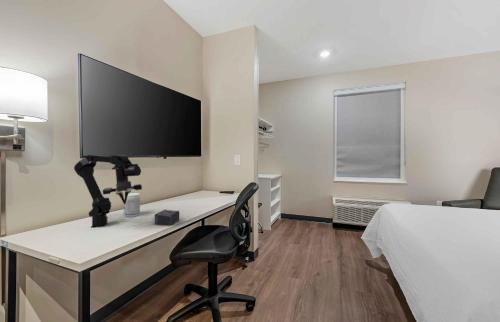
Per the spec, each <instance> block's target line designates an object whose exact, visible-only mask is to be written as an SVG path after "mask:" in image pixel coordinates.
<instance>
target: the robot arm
mask: <svg viewBox="0 0 500 322" xmlns="http://www.w3.org/2000/svg"><path fill="white" fill-rule="evenodd" d="M98 162H100V163H109V164H111V165H114V166H113V167H112V168H111V170H114V171H115V181H116V184H115V187H116V188H113V187H107V188H106V187H105V188H104V189H102V191H101V189H100V187H99V185H98V182H97V181H96V178H95V176H94V173H95V167H97V163H98ZM73 169H74V172H75V173H76V175H77V176H79V177H80V178H82V179H83V182H84V184H85V186H86V188H87V190H88V192H89V194H90V197H91V199H92V204H91V206H92V208H91V210H90V211H88V217H90V218H91V226H90V228H98V227H101V228H102V227H105V226H107V224H109V223H108V222H109V221H108V219H109V217H108V216H107V214H110V211H111V210H112V209H111V208H112V202H111V200H110V198H109V197H106V196H104V195H110V194H111V193H115V195H118V196H119V198H120V199H121V201H122V202H123V205H124V204H126V200H127V196H128V194H130V193H131V192H132V190H135V191H140V190H143V186H142V184H141V183H138V184H133V186H132V181H130V180H129V177H137V176H138V177H139V176H140V175H141V173H142V169H141V167H140V166H139V163H132V162H131V160H130V159H129V157H128V155H126V154H113V155H99V154H88V155H86V157H84V158H83V159H81V160H79V161H78V162H77V163H76V164H75V165H74V168H73ZM124 195H125V200H124Z"/></svg>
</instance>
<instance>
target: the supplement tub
mask: <svg viewBox="0 0 500 322" xmlns="http://www.w3.org/2000/svg"><path fill="white" fill-rule="evenodd" d="M123 196H124V200H125V194H123ZM139 215H141V194H140V193H137V192H134V193H133V192H132V193H131V192H130V193H129V194H128V196H127V200H126V204H124V203H123V216H124V217H125V218H134V217H138V216H139Z"/></svg>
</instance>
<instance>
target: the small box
mask: <svg viewBox="0 0 500 322" xmlns="http://www.w3.org/2000/svg"><path fill="white" fill-rule="evenodd" d="M179 221H180V210H173V209H172V210H171V209H163V210H161V211H158V212H156V213H155V214H154V225H161V226H172V225H173V224H175V223H176V222H179Z"/></svg>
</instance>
